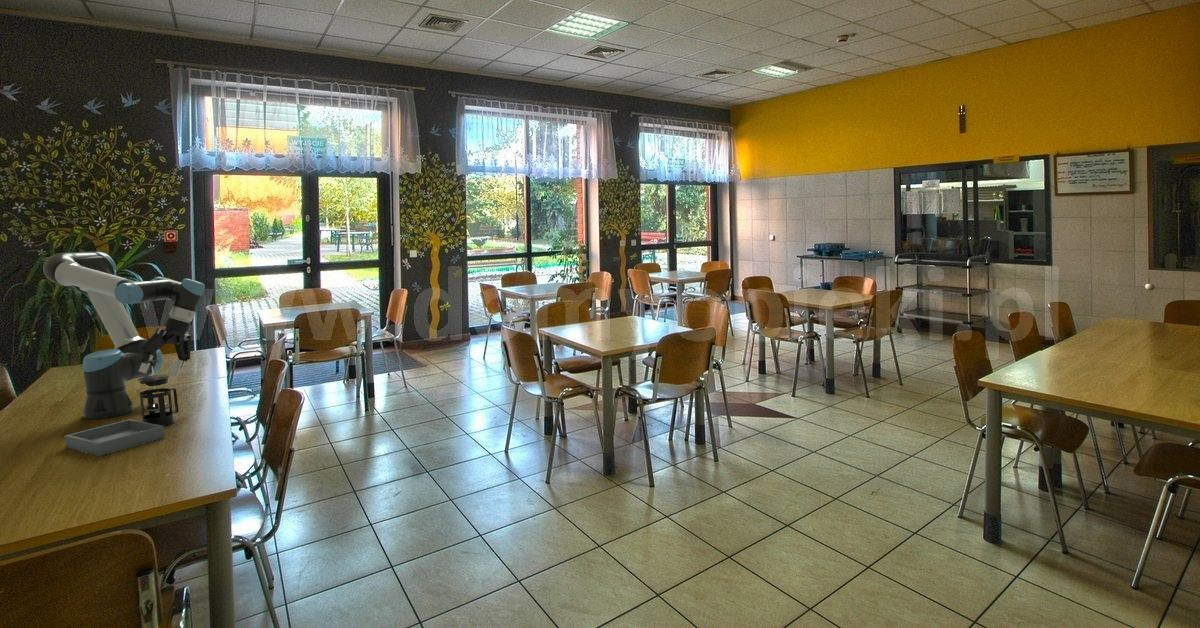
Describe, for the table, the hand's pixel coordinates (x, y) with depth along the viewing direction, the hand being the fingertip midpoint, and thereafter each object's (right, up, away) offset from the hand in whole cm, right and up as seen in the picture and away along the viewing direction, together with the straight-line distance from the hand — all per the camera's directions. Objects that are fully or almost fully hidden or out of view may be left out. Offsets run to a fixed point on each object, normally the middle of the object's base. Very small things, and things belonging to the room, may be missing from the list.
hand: (158, 374), depth 233 cm
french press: (+7, -17, -9) cm, 20 cm away
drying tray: (+6, -19, -29) cm, 35 cm away
